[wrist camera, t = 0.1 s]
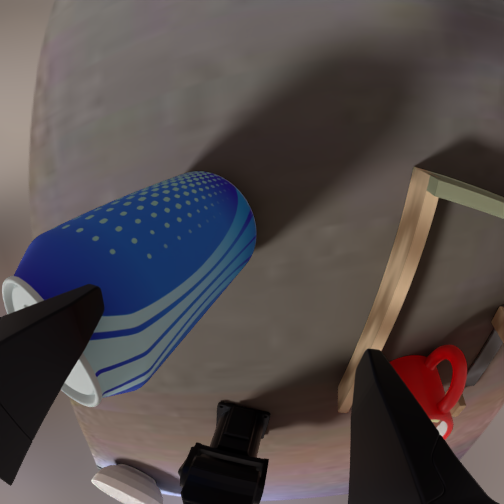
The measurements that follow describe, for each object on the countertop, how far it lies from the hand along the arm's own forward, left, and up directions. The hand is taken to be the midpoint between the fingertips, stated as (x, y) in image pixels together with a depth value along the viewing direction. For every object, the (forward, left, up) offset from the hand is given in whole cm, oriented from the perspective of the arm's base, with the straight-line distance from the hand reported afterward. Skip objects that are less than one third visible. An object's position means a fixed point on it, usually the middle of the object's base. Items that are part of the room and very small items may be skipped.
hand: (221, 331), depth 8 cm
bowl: (-74, +24, -16) cm, 79 cm away
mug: (-15, -17, -16) cm, 27 cm away
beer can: (-3, +5, -15) cm, 16 cm away
